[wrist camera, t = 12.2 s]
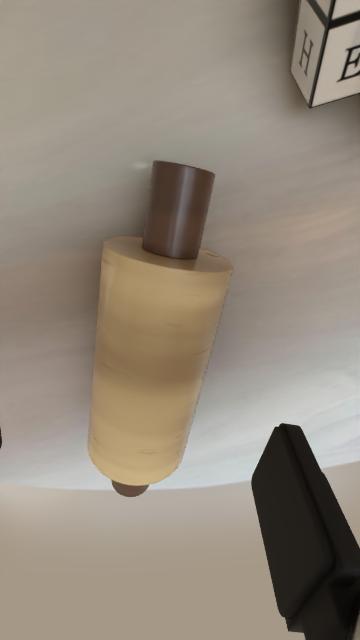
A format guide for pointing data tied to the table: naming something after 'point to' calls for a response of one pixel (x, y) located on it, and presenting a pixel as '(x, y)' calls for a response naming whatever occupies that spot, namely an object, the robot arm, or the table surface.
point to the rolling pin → (155, 332)
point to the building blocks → (327, 50)
